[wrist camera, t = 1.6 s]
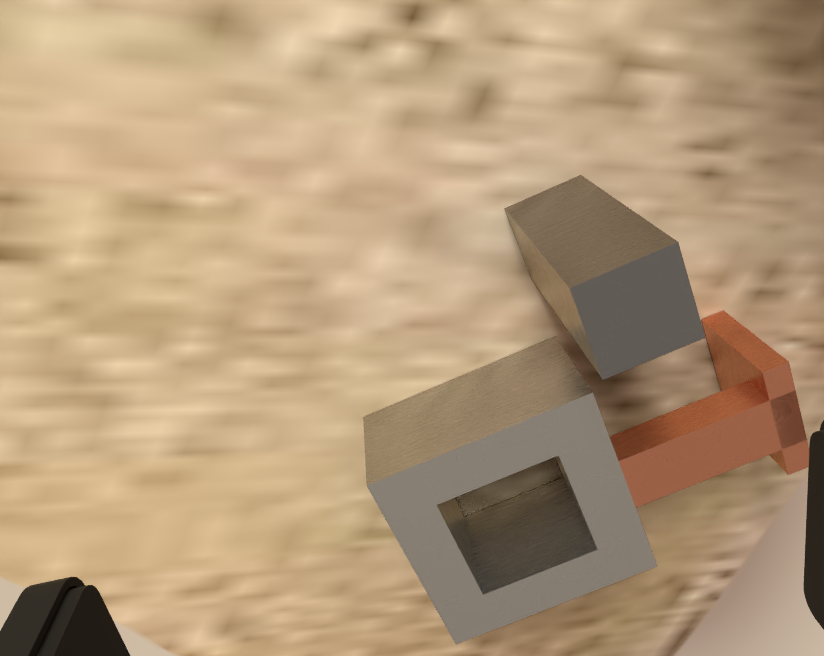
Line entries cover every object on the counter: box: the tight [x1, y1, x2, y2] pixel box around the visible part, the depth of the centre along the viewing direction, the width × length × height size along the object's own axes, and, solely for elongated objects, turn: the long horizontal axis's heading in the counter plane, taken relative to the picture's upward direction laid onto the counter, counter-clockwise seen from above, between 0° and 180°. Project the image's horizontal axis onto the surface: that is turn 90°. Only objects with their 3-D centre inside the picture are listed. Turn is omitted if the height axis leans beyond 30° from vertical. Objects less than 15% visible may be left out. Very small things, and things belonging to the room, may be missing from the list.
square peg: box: [505, 175, 705, 380], centre depth 25 cm, size 3×3×9 cm
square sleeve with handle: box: [363, 311, 809, 644], centre depth 30 cm, size 16×9×5 cm, turn 113°
